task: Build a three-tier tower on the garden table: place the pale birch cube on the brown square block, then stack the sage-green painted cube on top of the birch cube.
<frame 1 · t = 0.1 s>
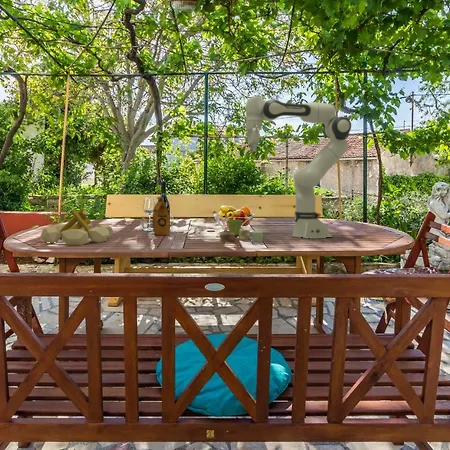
hand: (253, 151, 228), 48 cm above the table, tool pointing down, fingers open, 8 cm apart
campfire: (78, 241, 216), on the table
green cube: (257, 241, 218), on the table
coffee package: (161, 234, 240), on the table
birch cube: (244, 238, 225), on the table
plant pot: (234, 235, 239), on the table
brown square block: (227, 241, 217), on the table
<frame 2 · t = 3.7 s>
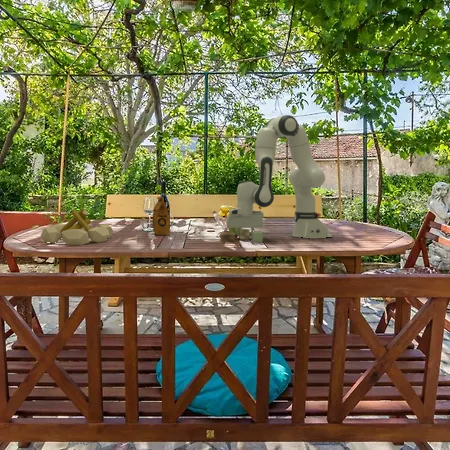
hand: (244, 235, 225), 2 cm above the table, tool pointing down, fingers closed on birch cube, 5 cm apart
birch cube: (244, 238, 225), on the table, touching gripper
everything else where it was.
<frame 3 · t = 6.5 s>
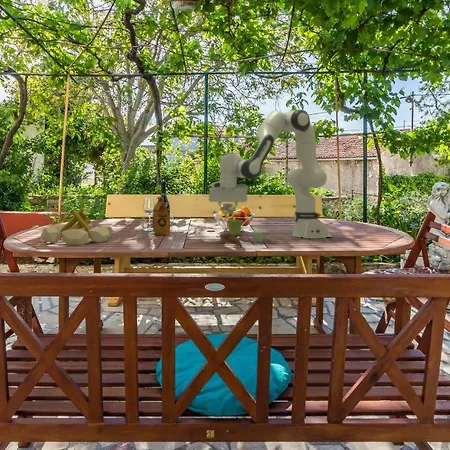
hand: (227, 210, 215), 16 cm above the table, tool pointing down, fingers closed on birch cube, 5 cm apart
birch cube: (227, 213, 215), point 15 cm above the table, touching gripper
everything else where it was.
when the fingers open (7 cm above the table, at t = 8.5 s): birch cube stays where it is, resting on brown square block.
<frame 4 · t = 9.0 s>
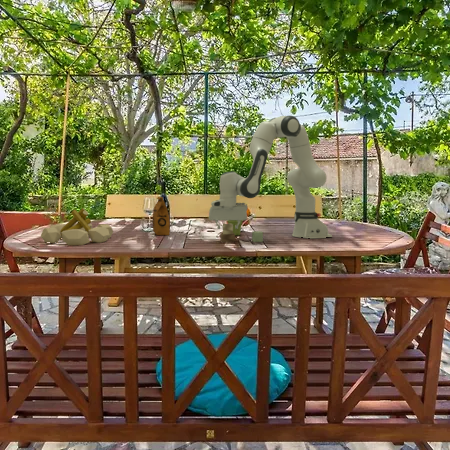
hand: (227, 228, 216), 7 cm above the table, tool pointing down, fingers open, 8 cm apart
birch cube: (227, 233, 216), point 4 cm above the table, touching brown square block
everything else where it was.
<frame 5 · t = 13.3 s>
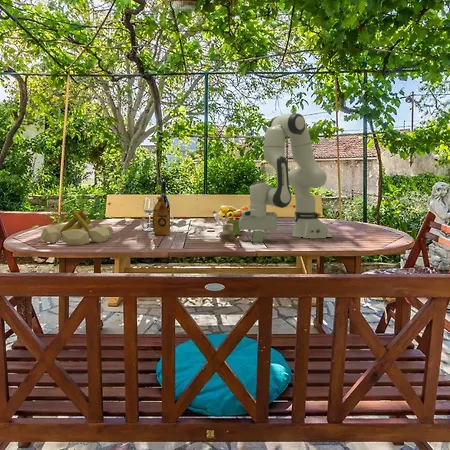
hand: (257, 237, 218), 2 cm above the table, tool pointing down, fingers closed on green cube, 5 cm apart
green cube: (257, 240, 218), on the table, touching gripper
everything else where it was.
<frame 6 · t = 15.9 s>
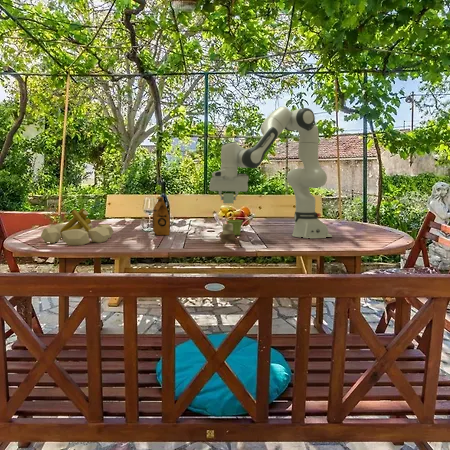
hand: (228, 200, 214), 22 cm above the table, tool pointing down, fingers closed on green cube, 5 cm apart
green cube: (228, 203, 214), point 20 cm above the table, touching gripper
everything else where it was.
when the fingers open (12 cm above the table, at t = 18.7 s): green cube stays where it is, resting on birch cube.
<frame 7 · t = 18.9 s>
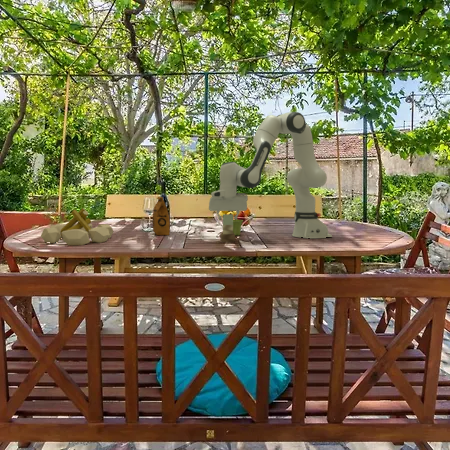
hand: (227, 219, 215), 12 cm above the table, tool pointing down, fingers open, 7 cm apart
green cube: (227, 224, 216), point 9 cm above the table, touching birch cube
birch cube: (227, 233, 216), point 4 cm above the table, touching brown square block, green cube
everything else where it was.
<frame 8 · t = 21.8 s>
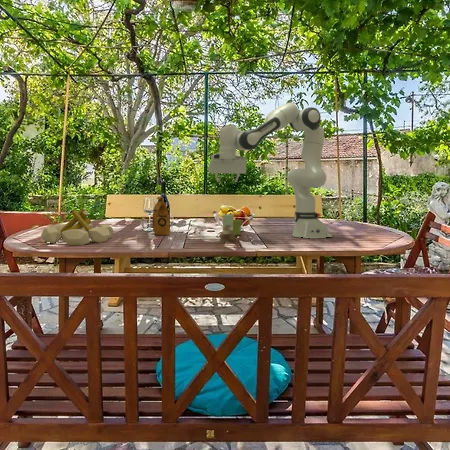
hand: (227, 182, 219), 31 cm above the table, tool pointing down, fingers open, 8 cm apart
nothing on the table moved.
at the end: birch cube 0.1 cm off-centre on the brown square block, point 4.0 cm above the brown square block's base; green cube 0.1 cm off-centre on the brown square block, point 9.0 cm above the brown square block's base; the gripper is holding nothing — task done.
